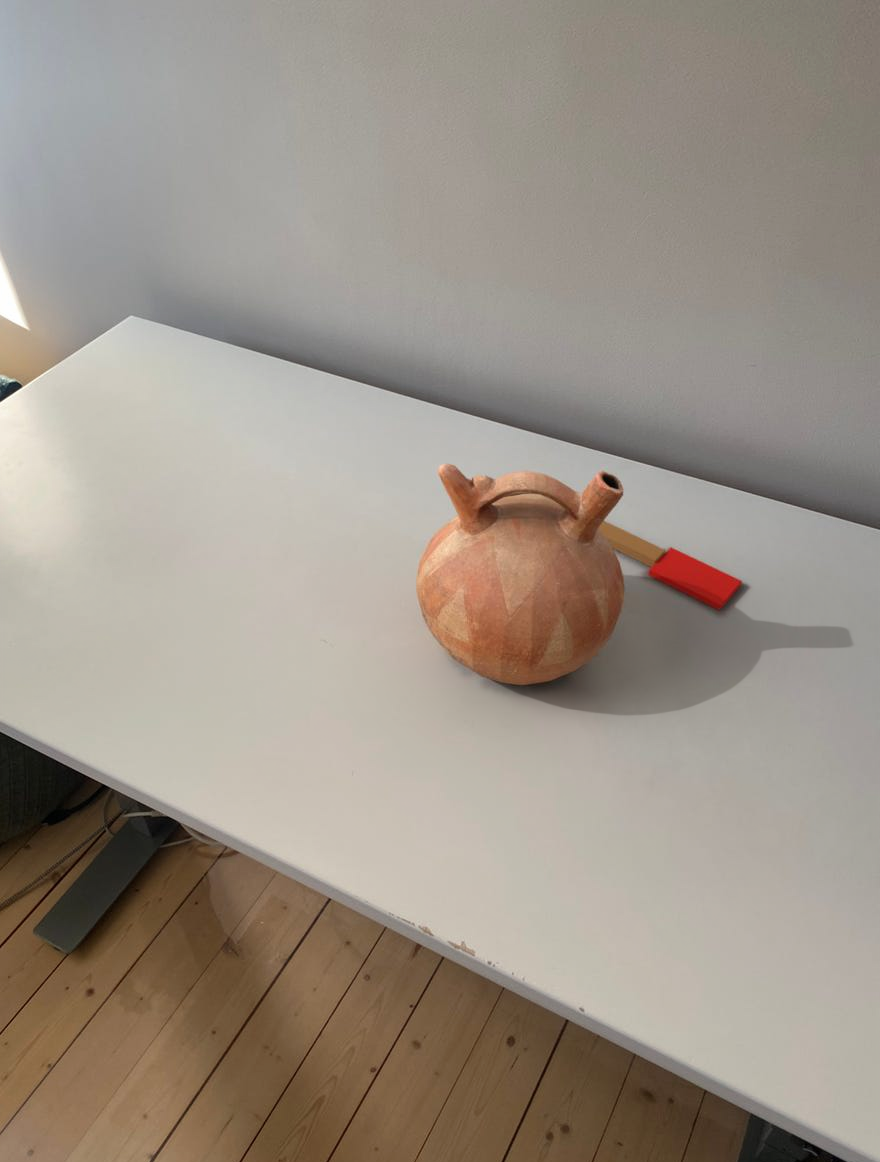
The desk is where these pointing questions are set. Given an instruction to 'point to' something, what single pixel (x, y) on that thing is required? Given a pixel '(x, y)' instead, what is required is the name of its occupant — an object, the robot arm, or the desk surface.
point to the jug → (522, 575)
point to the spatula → (675, 568)
